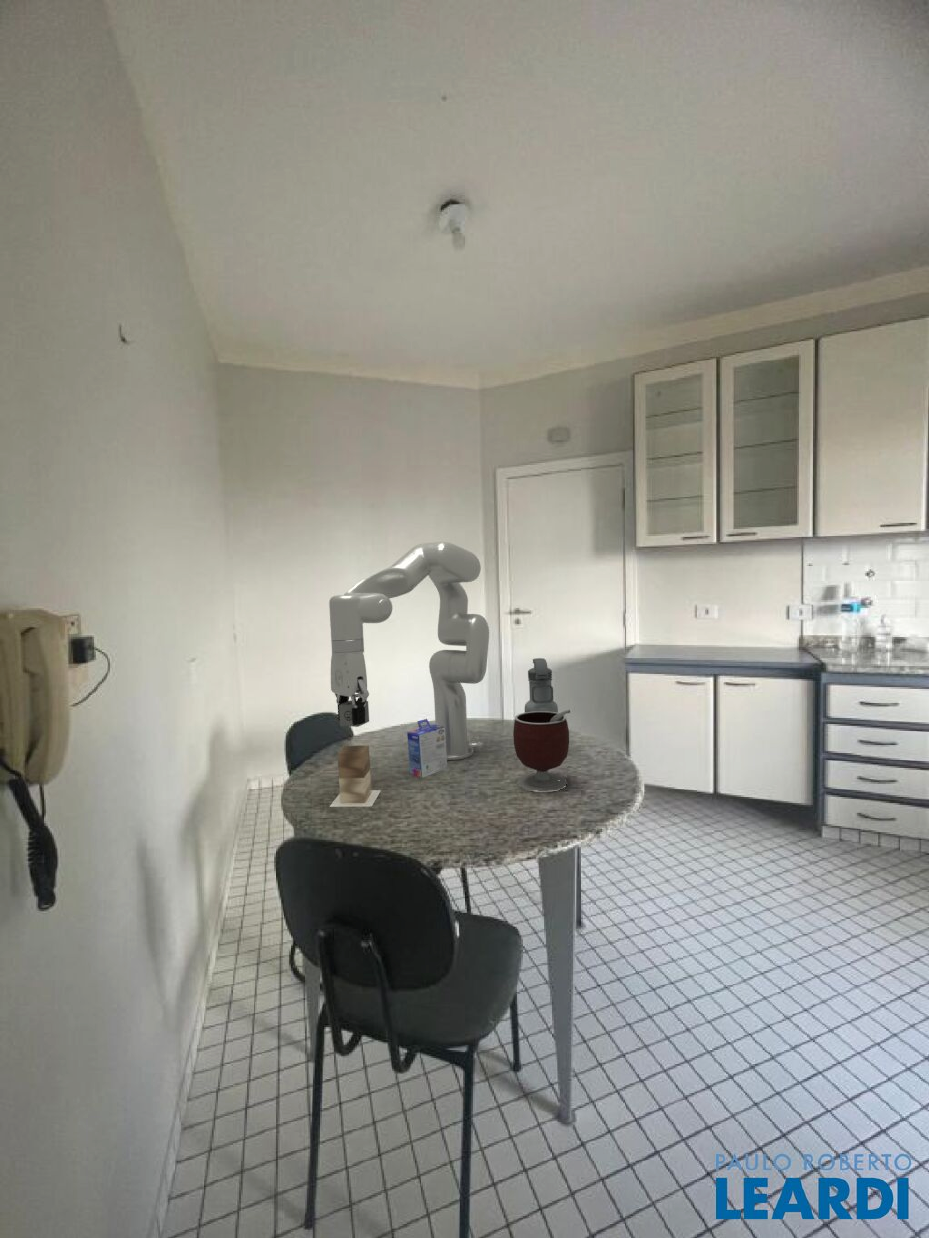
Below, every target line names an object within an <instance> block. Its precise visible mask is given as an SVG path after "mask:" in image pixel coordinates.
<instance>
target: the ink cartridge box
mask: <svg viewBox="0 0 929 1238" xmlns="http://www.w3.org/2000/svg"><path fill="white" fill-rule="evenodd" d="M422 723H423V725H422ZM424 723H426V724H424ZM417 724H418V729H415V730H412V731H408V732H407V733H406V734H407V746H408V758H409V773H410V775H413V776H416V777H419V778H426V777H428V776H430V775H433V774H436V773H438V772H441V771H444V770H447V769H448V760H447V754H446V738H445V727H443V726H438V725H435V724H430V723H429V719H427V718H424V719H421V720H418V721H417Z"/></svg>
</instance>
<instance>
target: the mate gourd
mask: <svg viewBox="0 0 929 1238" xmlns="http://www.w3.org/2000/svg"><path fill="white" fill-rule="evenodd" d="M567 714H571V710H570V709H567V710H563V711H561V712H558V713H557V712H549V711H534V712H526V713H525V712H522V713H518V714H516V715H515V717H514V723H513V733H512V735H513V737H512V739H513V746H514V750H515V751H514V752H515V754H516V757H517V758H518V760H519V762H520V763H522V765H523V766H525V767H527V768H528V769H532V770H535V771H536V772H535V773H528V774H526V775H523V776H521V777H519V779H518V781H517V782H518V784H519V785H520V786H521V787H522V788H524V789H527V790H538V791H548V790H558V789H561V788H563V787H564V786H566V784H567V785H568V780H567V778H566V777H564V776H561V775H559V774H555V773H549V771H550V770H554V769H555V768H557V767H560V766H561V765H562V764H564V763H563V762H564V761H565V760H566V758H567V757H568V753H569V748H570V729H569V725H568V721H567V716H566V715H567ZM558 780H560V781H558ZM565 780H567V781H565ZM519 785H518V786H519ZM522 788H521V789H522ZM524 789H523V790H524Z"/></svg>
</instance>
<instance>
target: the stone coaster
mask: <svg viewBox="0 0 929 1238" xmlns="http://www.w3.org/2000/svg"><path fill="white" fill-rule="evenodd" d="M381 791H382V790H381V789H371V795H370V796H369V798H368V799H367V801H366V803H340V793H339V794H338V795H337V796H336V798H335V799H333V802H332V803H331V804H330V805H329V807H330V808H348V807H349V808H351V807H359V808H360V807H372V806H374V803H375V802H376V799H377V798H378V797H379V795H380V793H381Z"/></svg>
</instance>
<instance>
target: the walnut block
mask: <svg viewBox="0 0 929 1238" xmlns="http://www.w3.org/2000/svg"><path fill="white" fill-rule="evenodd" d="M337 766H338V767H337V768H338V779H339V778H364V777H365V776H366V774H367V773H368V772H369V770H370V771H371V761H370V745H369V744H368V745H344V746H343V747H342V748H341V749H340V751H338V752H337Z"/></svg>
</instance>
